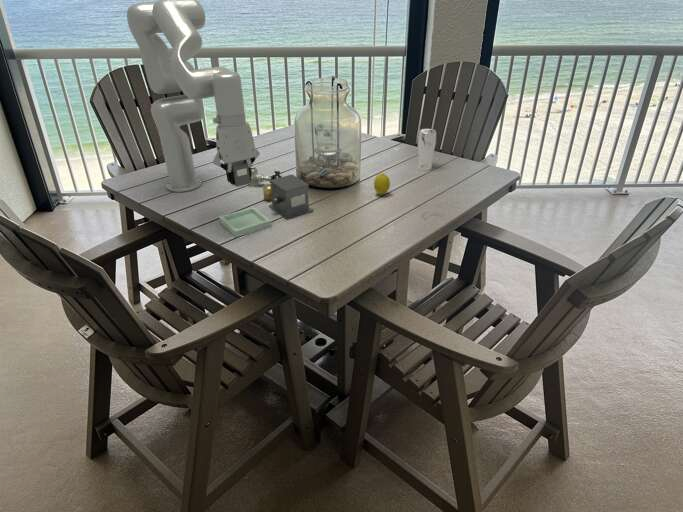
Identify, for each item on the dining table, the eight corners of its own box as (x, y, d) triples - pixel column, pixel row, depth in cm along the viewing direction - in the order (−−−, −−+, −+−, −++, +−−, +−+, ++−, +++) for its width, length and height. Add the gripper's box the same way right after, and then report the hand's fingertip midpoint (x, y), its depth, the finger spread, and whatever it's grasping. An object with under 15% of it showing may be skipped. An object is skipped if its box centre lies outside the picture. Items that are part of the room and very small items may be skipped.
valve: (245, 188, 167) (275, 191, 164) (243, 171, 164) (273, 174, 161) (253, 181, 172) (282, 184, 169) (251, 164, 169) (281, 168, 166)
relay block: (230, 182, 135) (227, 162, 132) (243, 178, 138) (241, 159, 134) (236, 187, 132) (233, 167, 129) (250, 183, 134) (248, 164, 131)
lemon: (391, 193, 162) (392, 171, 158) (386, 198, 158) (387, 177, 154) (377, 190, 164) (377, 169, 160) (371, 196, 160) (372, 174, 156)
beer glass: (435, 166, 184) (439, 130, 176) (428, 172, 179) (432, 134, 171) (419, 163, 187) (423, 127, 179) (412, 168, 182) (415, 131, 174)
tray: (220, 222, 144) (219, 216, 142) (254, 212, 149) (253, 206, 148) (236, 237, 135) (235, 231, 134) (271, 226, 141) (271, 220, 140)
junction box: (265, 207, 152) (262, 181, 147) (294, 199, 158) (292, 173, 153) (282, 220, 144) (280, 193, 139) (313, 211, 150) (311, 184, 145)
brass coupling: (262, 199, 158) (260, 185, 156) (272, 196, 160) (271, 183, 158) (267, 203, 156) (266, 189, 153) (277, 200, 158) (276, 186, 155)
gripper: (207, 128, 118) (218, 192, 128) (265, 117, 127) (271, 178, 136) (197, 121, 124) (208, 184, 133) (253, 112, 132) (259, 171, 141)
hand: (240, 180), depth 135 cm, fingers closed on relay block, 4 cm apart
